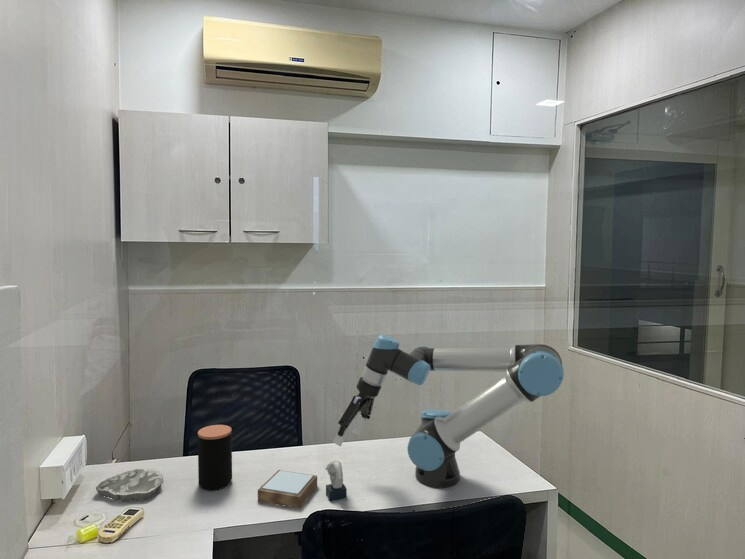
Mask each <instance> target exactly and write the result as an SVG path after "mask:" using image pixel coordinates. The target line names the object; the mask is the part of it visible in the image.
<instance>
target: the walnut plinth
mask: <svg viewBox="0 0 745 559" xmlns="http://www.w3.org/2000/svg"><path fill="white" fill-rule="evenodd" d="M317 487H318V475H314V474H308V473H301V472H295V471H288V470H281V469H279V470H277V471H276V472H275V473H273V474H272V476H271V477H270V478H269V479H268V480H266V481H265V482H264V483H263V484H262V485H261V486H260V487H259V488H257V502H259V503H264V504H271V505H276V504H278V505H277V506H282V505H285V506H284V507H288V506H291V507H290V508H293V507H296V508H295V509H301V507H302V506H303V505H304V504H305V502H306V501H307V500H308V499H309V497H310V496H311V495H312V494H313V492H314V491H315V490H316V489H317ZM307 498H308V499H307ZM306 499H307V500H306ZM302 504H303V505H302Z"/></svg>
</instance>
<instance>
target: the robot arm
mask: <svg viewBox="0 0 745 559" xmlns="http://www.w3.org/2000/svg"><path fill="white" fill-rule="evenodd" d="M362 368H363V370H362V372H361V375H360V376H361V377H359V380H358V382H357V384H356V389H357V390H358V392H359V393H358V394H357V395H353V397H352V399H351V401H350V402H349V404H348V406H347V408H346V410H345V411H344V413H343V415H342V416H341V418H340V419H339V420H338V422H337V423H338V425H339V428H338V430H337V432H336V435H335V437H334V439H333V443H334V444H335V445H337V446H339V447H342V446H343V442H344V440H345V438H346V435H347V434H348V431H349V426H350V425H351V423H352V422H353V420H354V419H355V418H356V416H357V415H358V414H359V412H360V414H359V415H358V417H357V419H356V422H355V424H354V427H353V428H352V431H351V433H352V434H354V435H355V436H357V437H360V435H361V433H362V430H363V428H364V426H365V424H366V421H367V420H370V418H371V414H372V410H373V406H374V401H375V398H376V397H378V396H379V393H380V391H381V388H382V385H384V382H385V379H386V377H387V374H388V372H389V371H390V372H391V373H393V374H395V375H397V376H399V377H401V378H403V379H404V380H406V381H408V382H409V383H412V384H415V385H416V386H417V385H418V386H423V384H424V383H425V381H426V380H427V379H428V376H429V375H430V374H429V373H430V372H433V371H434V372H436V371H437V372H438V371H439V372H440V371H443V372H446V371H447V372H485V373H486V372H492V373H493V372H494V373H495V372H497V373H499V372H501V373H505V375H504V376H503V377H502V378H500V379H499V380H498V381H496V382H495V383H493V384H491V385H490V386H488V388H486V389H484V390H483V391H481V392H479V394H477V395H476V396H474V397H472V398H471V399H469V400H468V401H467V402H465V403H464V404H462V405H461V406H459V407H458V408H457V409H455V410H454V411H450V410H445V409H439V408H436V409H435V408H432V409H431V408H430V409H429V408H428V409H424V410H423V411H422V412H421V415H420V418H421V423H420V426H419V427H418V428H417V430H415V432H414V433H413V434H412V436H411V437H410V438H409V440H408V443H407V454H408V457H409V459H410V461H411V462H412V463H413V465H414V466H416V467H415V478H416V480H417V481H418V482H419V483H421V484H423V485H425V486H428V487H432V488H448V487H453V486H456V485H457V484H458V483H459V482H460V478H461V475H460V474H461V472H460V468H459V465H458V461H457V458H456V452H458V451H460V448H461V443H462V442H464V441H465V440H466V439H468V438H470V437H471V436H473V435H475V434H476V433H477V432H479V431H481V430H482V429H484V428H485V427H486V426H488V425H489V424H491V423H493V422H494V421H495V420H497V419H499V418H500V417H501V416H503V415H504V414H506V413H508V412H509V411H510V410H512V409H513V408H515V407H516V406H519V404H521V403H523V402H527V403H533V402H534V401H535V400H538V399H539V398H541V397H546V396H550V395H551V394H554V393H555V392H556V391H557V390H558V389H559V388H560V387H561V384H562V382H563V381H564V374H565V373H564V367H563V361H562V358H561V356H560V353H559V352H558V351H557V350H556V349H555V348H554V347H552V346H549V345H547V344H543V343H534V344H533V343H532V344H531V343H530V344H514V345H513V346H512V347H501V348H500V347H484V348H483V347H482V348H481V347H473V348H472V347H471V348H469V347H468V348H467V347H458V348H457V347H456V348H455V347H454V348H451V347H449V348H448V347H443V348H442V347H439V348H437V347H435V348H433V347H431V348H430V347H428V346H425V345H424V346H423V345H422V346H418V347H415V348H414V349H413V350H412V351H411V352H410V353H407V352H405V351H403V350H402V349H400V342H399V341H398V340H396V339H395V338H394V337H391V336H389V335H387V334H380V335H378V336H377V338H376V340H375V342H374V344H373V345H372V349H371V351H370V353H369V355H368V359H367V361H366V364H365V365H364V366H362Z"/></svg>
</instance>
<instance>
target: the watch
mask: <svg viewBox="0 0 745 559" xmlns="http://www.w3.org/2000/svg"><path fill="white" fill-rule="evenodd" d="M324 468H325V470H326V471H327V473H328V476H329V480H330V483H329V484H326V485H325V495H326V497H327V499H328V501H329V502H331V501H332V500H334V501H338V499H339V500H343V499H347V493H348V492H347V487H346V485H345V484H344V477H343V476H344V473H343V466H342V462H341V461H340V460H332V461H331V462H329V463H327V465H326V467H324Z"/></svg>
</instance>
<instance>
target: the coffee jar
mask: <svg viewBox="0 0 745 559" xmlns="http://www.w3.org/2000/svg"><path fill="white" fill-rule="evenodd" d="M232 431H233V430H232V427H231V426H229V425H226V424H213V425H208V426H205V427H204V426H203V427H202V428H200V429H199V430H198V431H197V437H198V438H197V457H198V458H197V464H198V465H197V466H198V467H197V469H198V470H197V472H198V474H197V475H198V485H199V487H200V488H201V489H202V490H204V491H218V490H222V489H225V488H226V487H228V486H229V485H230V483H231V482H232V479H233V447H232V446H233V437H232Z"/></svg>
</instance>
